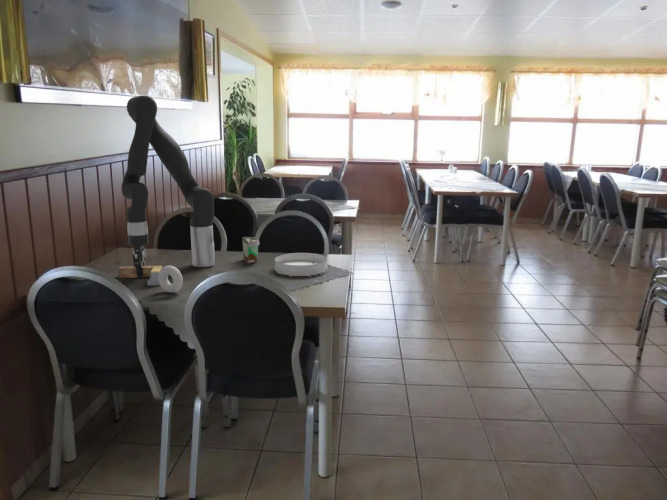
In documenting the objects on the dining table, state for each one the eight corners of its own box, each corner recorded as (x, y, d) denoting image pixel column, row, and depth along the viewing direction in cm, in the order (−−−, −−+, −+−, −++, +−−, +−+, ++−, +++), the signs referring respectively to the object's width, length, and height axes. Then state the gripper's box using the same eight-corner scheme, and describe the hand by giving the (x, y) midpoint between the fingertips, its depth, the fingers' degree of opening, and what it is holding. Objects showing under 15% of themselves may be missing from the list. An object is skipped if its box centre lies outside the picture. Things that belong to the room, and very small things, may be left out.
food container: (263, 263, 239) (262, 241, 237) (249, 265, 237) (248, 242, 235) (256, 257, 250) (255, 235, 248) (242, 258, 248) (242, 236, 246)
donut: (185, 293, 198) (184, 266, 196) (179, 295, 195) (177, 268, 192) (163, 289, 202) (161, 263, 199) (157, 292, 199) (155, 265, 196)
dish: (312, 280, 216) (312, 267, 215) (264, 273, 225) (264, 261, 224) (336, 267, 235) (336, 255, 234) (290, 261, 244) (290, 250, 243)
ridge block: (167, 279, 215) (166, 265, 214) (164, 285, 207) (163, 270, 206) (151, 279, 214) (150, 266, 213) (147, 285, 206) (146, 271, 205)
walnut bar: (162, 274, 222) (162, 265, 221) (161, 277, 219) (160, 267, 218) (121, 276, 220) (120, 266, 219) (119, 278, 217) (118, 268, 216)
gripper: (144, 236, 209) (147, 279, 213) (151, 229, 223) (153, 270, 227) (123, 236, 208) (127, 280, 212) (131, 229, 222) (135, 270, 226)
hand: (141, 274), depth 219 cm, fingers open, 3 cm apart
